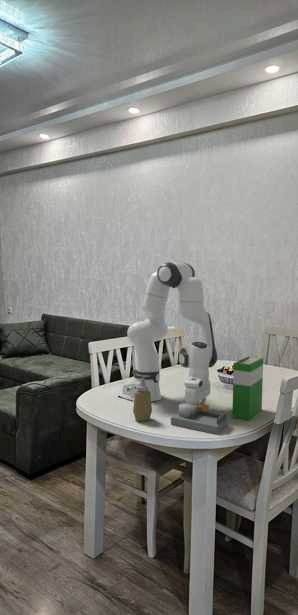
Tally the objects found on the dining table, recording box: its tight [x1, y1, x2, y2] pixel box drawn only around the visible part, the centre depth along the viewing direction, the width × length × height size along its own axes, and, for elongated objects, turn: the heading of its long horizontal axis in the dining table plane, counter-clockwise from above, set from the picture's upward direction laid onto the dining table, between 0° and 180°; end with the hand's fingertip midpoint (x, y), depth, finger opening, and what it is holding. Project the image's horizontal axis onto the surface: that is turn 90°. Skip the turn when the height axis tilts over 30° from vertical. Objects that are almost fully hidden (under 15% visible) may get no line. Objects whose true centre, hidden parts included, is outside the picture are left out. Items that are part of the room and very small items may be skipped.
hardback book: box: [231, 356, 264, 422], centre depth 179 cm, size 18×7×24 cm, turn 147°
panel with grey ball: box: [170, 402, 229, 435], centre depth 165 cm, size 20×12×7 cm, turn 60°
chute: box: [196, 402, 210, 412], centre depth 180 cm, size 8×5×4 cm, turn 60°
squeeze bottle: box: [132, 378, 153, 422], centre depth 171 cm, size 8×8×18 cm
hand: (198, 409), depth 180 cm, fingers open, 8 cm apart
